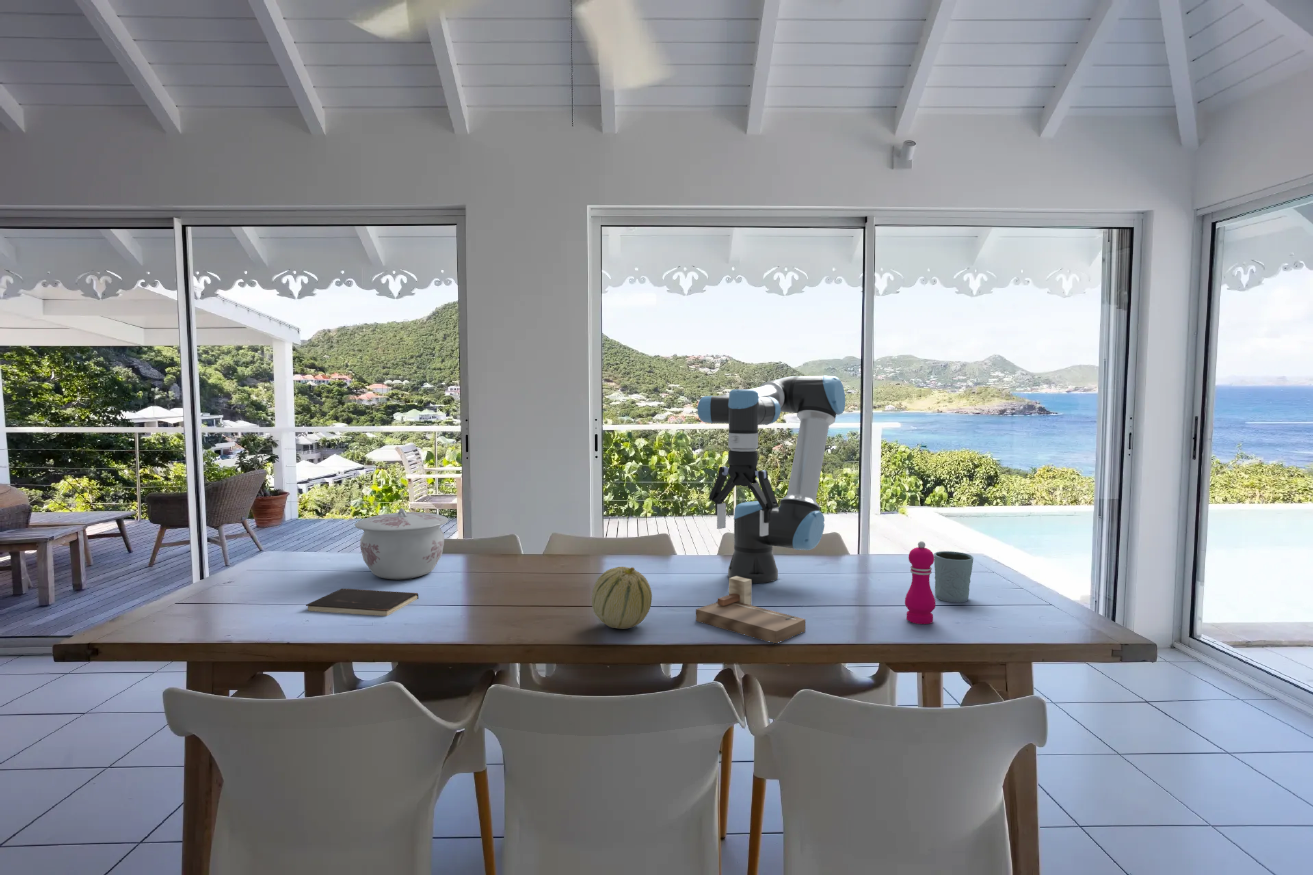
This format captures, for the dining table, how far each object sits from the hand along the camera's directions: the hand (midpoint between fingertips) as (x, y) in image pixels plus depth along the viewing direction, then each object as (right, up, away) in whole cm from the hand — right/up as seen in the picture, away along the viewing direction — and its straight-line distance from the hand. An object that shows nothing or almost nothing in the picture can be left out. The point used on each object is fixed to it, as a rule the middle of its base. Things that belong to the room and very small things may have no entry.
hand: (742, 531), depth 192 cm
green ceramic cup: (+60, -20, +13) cm, 64 cm away
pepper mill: (+44, -22, -6) cm, 49 cm away
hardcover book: (-100, -21, +7) cm, 103 cm away
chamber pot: (-100, -18, +39) cm, 109 cm away
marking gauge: (-2, -20, 0) cm, 20 cm away
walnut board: (+1, -22, -10) cm, 24 cm away
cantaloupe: (-30, -22, -11) cm, 39 cm away
